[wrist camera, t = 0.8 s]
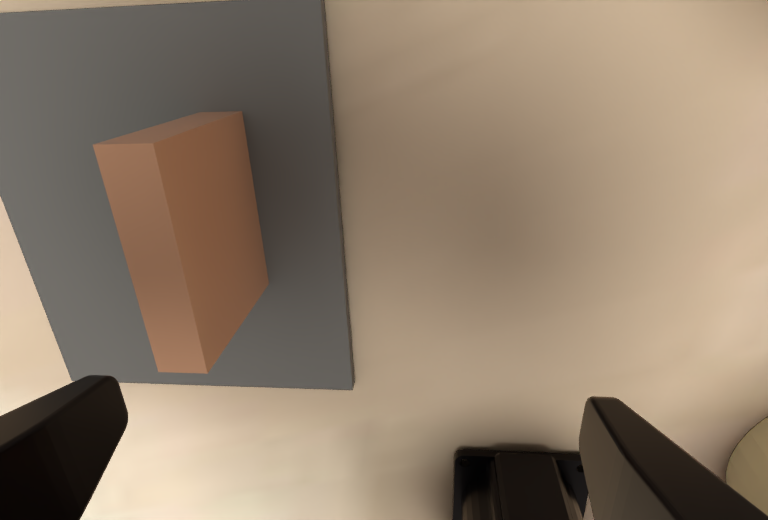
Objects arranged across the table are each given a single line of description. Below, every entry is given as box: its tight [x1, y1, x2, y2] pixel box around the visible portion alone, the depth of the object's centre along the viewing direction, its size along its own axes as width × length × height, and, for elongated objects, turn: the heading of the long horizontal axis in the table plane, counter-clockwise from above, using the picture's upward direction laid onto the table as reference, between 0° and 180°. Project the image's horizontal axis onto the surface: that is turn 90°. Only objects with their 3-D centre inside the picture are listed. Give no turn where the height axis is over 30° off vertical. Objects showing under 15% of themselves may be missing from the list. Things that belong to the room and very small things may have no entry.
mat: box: [0, 0, 355, 390], centre depth 20 cm, size 16×14×1 cm
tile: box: [93, 111, 269, 374], centre depth 16 cm, size 7×2×6 cm, turn 2°
